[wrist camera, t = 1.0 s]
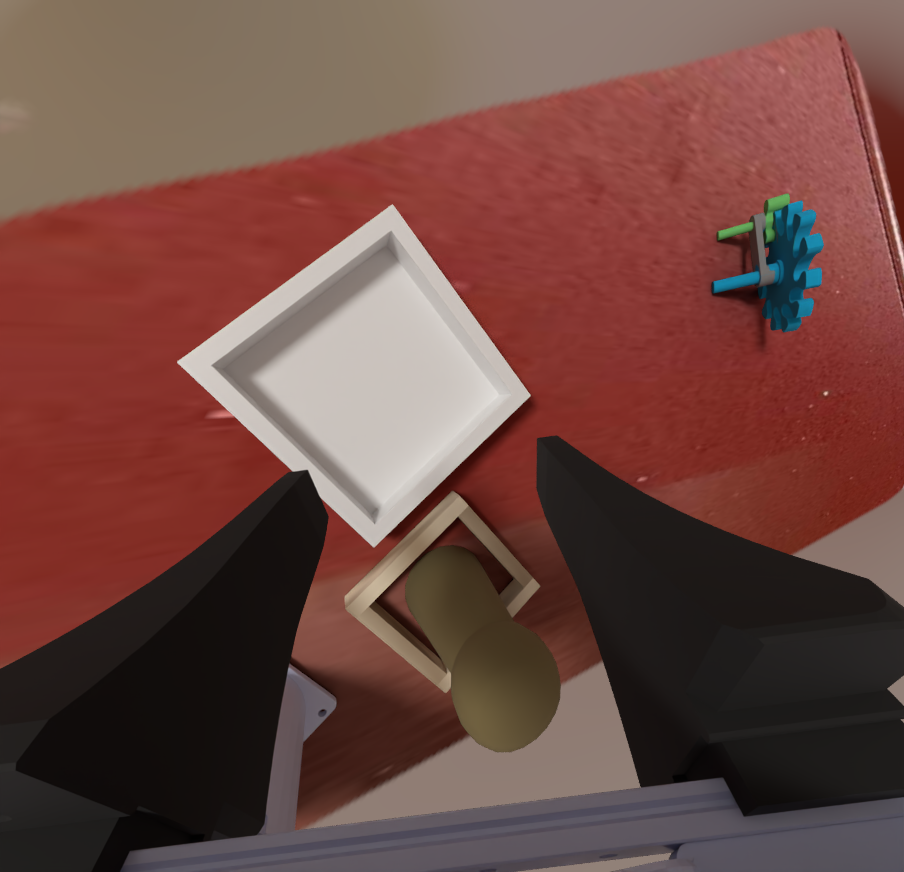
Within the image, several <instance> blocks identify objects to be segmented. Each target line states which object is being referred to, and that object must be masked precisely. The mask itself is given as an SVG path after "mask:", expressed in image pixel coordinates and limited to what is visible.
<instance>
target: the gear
mask: <svg viewBox="0 0 904 872" xmlns="http://www.w3.org/2000/svg"><path fill="white" fill-rule="evenodd" d="M789 201H790V196H789V194H784V195H781V196H778V197H775V198H771V199H768V200H766V201H765V203H764V213H765V214H764V213H760V214H757V215H753V216H751V218H750V220H749V223H746V224H742V225H739V226H735V227H732V228H728V229H725V230H721V231H718V232H717V240H722V239H725V238H729V237H732V236H736V235H739V234H743V233H747V232H749V239H750V248H751V257H752V266H753V272H752V273H747V274H743V275H739V276H735V277H730V278H726V279H722V280H718V281H713V282H712V293H718V292H722V291H727V290H731V289H736V288H740V287H745V286H749V285H754V284H755V286H756V287H758V295H759V298H760V299H763V298H766V301H765V304H764V307H763V309H762V315H763V317H764V318H765V319H770V318H771V324H770V327H771V330H779V329H782V331H783V332H788V331H794V330H797V329H798V328H799V327H800V325H801V317H805V316H810V315H811V312H812V309H813V305H814V301H813V299H812V298H807V299H804V298H803V290H804V289H809V288H814V287H818V286H820V285H821V280H822V271H821V268H815V269H811V270H808V268H809V265H810V263H811V261H812V259H813V257H814V256H815V255H816V254H817V253H819V252H821V250H822V248H823V246H824V244H823V240H822V237H821V234H820V233H818V234H814V235H810V231H811V229H812V226H813V224H814V222H815V219H816V212H815V211H813V210H807V211H803V212H802V209H803V202H802V201H798V202H795V203H791V204H789ZM781 209H782V210H781ZM774 211H775V212H774ZM773 212H774V213H773ZM809 235H810V236H809ZM767 247H769V255H768V257H765V248H767Z"/></svg>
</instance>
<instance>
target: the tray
mask: <svg viewBox="0 0 904 872" xmlns="http://www.w3.org/2000/svg"><path fill="white" fill-rule="evenodd" d="M177 363H178V364H179V365H180V366H181V367H183V368H184V369H185V370H186V371H187V372H188V373H189V374H190V375H191V376H192V377H193V378H194V379H195V380H196V381H197V382H198V383H200V384H201V385H202V386H203V387H204V388H205V389H206V390H207V391H208V392H209V393H210V394H211V395H212V396H213V397H214V398H215V399H217V400H218V401H219V402H220V403H221V404H222V405H223V406H224V407H225V408H226V409H227V410H228V411H229V412H230V413H231V414H232V415H234V416H235V417H236V418H237V419H238V420H239V421H240V422H241V423H242V424H243V425H244V426H245V427H246V428H247V429H248V430H249V431H250V432H252V433H253V434H254V435H255V436H256V437H257V438H258V439H259V440H260V441H261V442H262V443H263V444H264V445H265V446H266V447H267V448H269V449H270V450H271V451H272V452H273V453H274V454H275V455H276V456H277V457H278V458H279V459H280V460H281V461H282V462H283V463H284V464H286V465H287V466H288V467H289V468H290V469H291V470H292V471H293V472H294V471H301V470H308V471H309V473H310V476H311V478H312V480H313V482H314V485H315V487H316V489H317V491H318V494H319V496H320V497H321V498H322V499H323V500H324V501H325V502H326V503H327V504H328V505H329V506H330V507H331V508H332V509H333V510H334V511H335V512H337V513H338V514H339V515H340V516H341V517H342V518H343V519H344V520H345V521H346V522H347V523H348V524H349V525H350V526H351V527H352V528H353V529H355V530H356V531H357V532H358V533H359V534H360V535H361V536H362V537H363V538H364V539H365V540H366V541H367V542H368V543H369V544H370V545H372V546H373V547H375V546H376V545H377V544H378V543H379V542H380V541H381V540H382V539H383V538H384V537H385V536H386V535H387V534H388V533H389V532H391V531H392V530H393V529H394V528H395V527H396V526H397V525H398V524H399V523H400V522H401V521H402V520H403V519H404V518H405V517H406V516H407V515H408V514H409V513H410V512H411V511H412V510H413V509H414V508H415V507H416V506H417V505H418V504H419V503H420V502H421V501H423V500H424V499H425V498H426V497H427V496H428V495H429V494H430V493H431V492H432V491H433V490H434V489H435V488H436V487H437V486H438V485H439V484H440V483H441V482H442V481H443V480H444V479H445V478H446V477H447V476H448V475H449V474H450V473H451V472H452V471H454V470H455V469H456V468H457V467H458V466H459V465H460V464H461V463H462V462H463V461H464V460H465V459H466V458H467V457H468V456H469V455H470V454H471V453H472V452H473V451H474V450H475V449H476V448H477V447H478V446H479V445H480V444H481V443H482V442H483V441H484V440H486V439H487V438H488V437H489V436H490V435H491V434H492V433H493V432H494V431H495V430H496V429H497V428H498V427H499V426H500V425H501V424H502V423H503V422H504V421H505V420H506V419H507V418H508V417H509V416H510V415H511V414H512V413H513V412H514V411H515V410H517V409H518V408H519V407H520V406H521V405H522V404H523V403H524V402H525V401H526V400H527V399H528V398H529V397H530V396H531V395H530V394H529V392H528V391H527V390H526V388H525V387H524V386H523V384H522V383H521V381H520V380H519V379H518V377H517V376H516V374H515V373H514V372H513V370H512V369H511V368H510V366H509V365H508V363H507V362H506V361H505V359H504V358H503V356H502V355H501V354H500V352H499V351H498V350H497V348H496V347H495V345H494V344H493V343H492V341H491V340H490V338H489V337H488V336H487V334H486V333H485V332H484V330H483V329H482V327H481V326H480V325H479V323H478V322H477V320H476V319H475V318H474V316H473V315H472V314H471V312H470V311H469V309H468V308H467V307H466V305H465V304H464V302H463V301H462V300H461V298H460V297H459V296H458V294H457V293H456V291H455V290H454V289H453V287H452V286H451V284H450V283H449V282H448V280H447V279H446V278H445V276H444V275H443V273H442V272H441V271H440V269H439V268H438V266H437V265H436V264H435V262H434V261H433V260H432V258H431V257H430V255H429V254H428V253H427V251H426V250H425V248H424V247H423V246H422V244H421V243H420V242H419V240H418V239H417V237H416V236H415V235H414V233H413V232H412V230H411V229H410V228H409V226H408V225H407V224H406V222H405V221H404V219H403V218H402V217H401V215H400V214H399V213H398V211H397V210H396V208H395V207H394V206H393V204H392V205H391V206H390V207H388V208H387V209H386V210H384V211H383V212H381V213H380V214H379V215H377V216H376V217H375V218H373V219H372V220H371V221H369V222H368V223H366V224H365V225H364V226H362V227H361V228H360V229H358V230H357V231H356V232H354V233H353V234H351V235H350V236H349V237H347V238H346V239H345V240H343V241H342V242H340V243H339V244H338V245H336V246H335V247H334V248H332V249H331V250H330V251H328V252H327V253H325V254H324V255H323V256H321V257H320V258H319V259H317V260H316V261H315V262H313V263H312V264H310V265H309V266H308V267H306V268H305V269H304V270H302V271H301V272H299V273H298V274H297V275H295V276H294V277H293V278H291V279H290V280H289V281H287V282H286V283H284V284H283V285H282V286H280V287H279V288H278V289H276V290H275V291H274V292H272V293H271V294H269V295H268V296H267V297H265V298H264V299H263V300H261V301H260V302H258V303H257V304H256V305H254V306H253V307H252V308H250V309H249V310H248V311H246V312H245V313H243V314H242V315H241V316H239V317H238V318H237V319H235V320H234V321H232V322H231V323H230V324H228V325H227V326H226V327H224V328H223V329H222V330H220V331H219V332H217V333H216V334H215V335H213V336H212V337H211V338H209V339H208V340H207V341H205V342H204V343H202V344H201V345H200V346H198V347H197V348H196V349H194V350H193V351H191V352H190V353H189V354H187V355H186V356H185V357H183V358H182V359H181V360H179V361H178V362H177Z"/></svg>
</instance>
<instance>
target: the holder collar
mask: <svg viewBox="0 0 904 872" xmlns="http://www.w3.org/2000/svg"><path fill="white" fill-rule="evenodd" d="M457 517H458V518H459V519H460V520H461V521H462V522H463V523H464V524H465V525H466V527H467V528H468V529H469V530H470V531H471V532H472V533H473V534H474V535H475V536H476V537H477V539H478V540H479V541H480V542H481V543H482V544H483V545H484V546H485V547H486V548H487V549H488V551H489V552H490V553H491V554H492V555H493V556H494V557H495V558H496V559H497V560H498V561H499V562H500V564H501V565H502V566H503V567H504V568H505V569H506V570H507V571H508V572H509V573H510V574H511V576H512V577H513V578H514V579H513V580H512V581H511V582H510V584H509V585H508V586H507V587H506V588H505V589H504V590H503V591H502V592H501V593H500V595H499V596H500V598H501V600H502V601H503V603H504V605H505V607H506V608H507V610H508V612H509V613H510V615H511V617H512V618H513V617H514V615H515V614H516V613H517V612H518V611H519V610H520V609H521V608H522V606H523V605H524V604H525V603H526V602H527V601H528V600H529V599H530V597H531V596H532V595H533V594H534V593H535V592H536V591H537V589H538V588H539V587H540V585H539V584H538V583H537V582H536V581H535V579H534V578H533V577H532V576H531V575H530V574H529V573H528V572H527V571H526V569H525V568H524V567H523V566H522V565H521V564H520V563H519V562H518V560H517V559H516V558H515V557H514V556H513V555H512V554H511V553H510V552H509V550H508V549H507V548H506V547H505V546H504V545H503V544H502V543H501V541H500V540H499V539H498V538H497V537H496V536H495V535H494V534H493V532H492V531H491V530H490V529H489V528H488V527H487V526H486V525H485V524H484V522H483V521H482V520H481V519H480V518H479V517H478V516H477V515H476V513H475V512H474V511H473V510H472V509H471V508H470V507H469V506H468V505H467V503H466V502H465V501H464V500H463V499H462V498H461V497H460V496H459V495H458V494H457V493H455V492H454V491H451V492H450V493H449V494H448V495H447V496H446V497H445V498H444V499H443V500H442V501H441V502H440V503H439V504H438V505H437V506H436V507H435V508H434V509H433V510H432V511H431V512H430V513H429V514H428V515H427V516H426V517H425V518H424V519H423V520H422V521H421V522H420V523H419V524H418V525H417V526H416V527H415V528H414V529H413V530H412V531H411V532H410V533H409V534H408V535H407V536H406V537H405V538H404V539H403V540H402V541H401V542H400V543H399V544H398V545H397V546H396V547H394V548H393V549H392V550H391V551H390V552H389V553H388V554H387V555H386V556H385V557H384V558H383V559H382V560H381V561H380V562H379V563H378V564H377V565H376V566H375V567H374V568H373V569H372V570H371V571H370V572H369V573H368V574H367V575H366V576H365V577H364V578H363V579H362V580H361V581H360V582H359V583H358V584H357V585H356V586H355V587H354V588H353V589H352V590H351V591H350V592H349V593H348V594H347V595H346V596H345V609H346V610H347V611H348V612H349V613H350V614H352V615H353V616H354V617H355V618H356V619H358V620H359V621H360V622H361V623H362V624H364V625H365V626H366V627H367V628H368V629H369V630H371V631H372V632H373V633H374V634H375V635H377V636H378V637H379V638H380V639H381V640H383V641H384V642H385V643H386V644H387V645H389V646H390V647H391V648H392V649H393V650H395V651H396V652H397V653H398V654H399V655H400V656H402V657H403V658H404V659H405V660H406V661H408V662H409V663H410V664H411V665H412V666H414V667H415V668H416V669H417V670H418V671H420V672H421V673H422V674H423V675H424V676H425V677H427V678H428V679H429V680H430V681H431V682H433V683H434V684H435V685H436V686H437V687H439V688H440V689H441V690H442V691H443V692H445V693H446V692H447V691H448V690H449V689H450V688H451V673H450V671H449V670H448V668H447V667H446V665H445V664H444V662H443V661H442V659H440V658H439V657H438V656H436V655H435V654H434V653H433V652H432V651H431V650H430V649H428V648H427V647H426V646H425V645H424V644H423V643H422V642H420V641H419V640H418V639H417V638H416V637H415V636H414V635H412V634H411V633H410V632H409V631H408V630H407V629H406V628H405V627H403V626H402V625H401V624H400V623H399V622H398V621H397V620H395V619H394V618H393V617H392V616H391V615H390V614H389V613H387V612H386V611H385V610H384V609H383V608H382V607H381V606H379V605H378V604H377V603H376V602H375V599H376V598H377V597H378V596H379V595H380V594H381V593H382V592H383V591H384V590H385V589H386V588H387V587H388V586H389V585H390V584H391V583H392V582H393V581H394V580H395V579H396V578H397V577H398V576H399V575H400V574H401V573H402V572H403V571H404V570H405V569H406V568H407V567H408V566H409V565H410V564H411V563H412V562H413V561H414V560H415V559H416V558H417V557H418V556H419V555H420V554H421V553H422V552H423V551H424V550H425V549H426V548H427V547H428V546H429V545H430V544H431V543H432V542H433V541H434V540H435V539H436V538H437V537H438V536H439V535H440V534H441V533H442V532H443V531H444V530H445V529H446V528H447V527H448V526H449V525H450V524H451V523H452V522H453V521H454V520H455V519H456V518H457Z"/></svg>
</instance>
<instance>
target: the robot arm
mask: <svg viewBox="0 0 904 872" xmlns="http://www.w3.org/2000/svg"><path fill="white" fill-rule="evenodd" d="M536 488H537V492H538V495H539V498H540V502H541V505H542V508H543V511H544V514H545V517H546V519H547V521H548V524H549V526H550V528H551V530H552V532H553V535H554V537H555V539H556V541H557V543H558V546H559V548H560V550H561V552H562V554H563V556H564V558H565V561H566V563H567V565H568V567H569V569H570V571H571V574H572V576H573V578H574V580H575V583H576V585H577V587H578V590H579V592H580V595H581V598H582V601H583V603H584V606H585V609H586V612H587V615H588V618H589V621H590V623H591V626H592V629H593V632H594V635H595V638H596V641H597V644H598V647H599V650H600V653H601V656H602V659H603V662H604V666H605V669H606V672H607V675H608V678H609V682H610V685H611V687H612V691H613V694H614V698H615V701H616V704H617V707H618V710H619V714H620V717H621V720H622V724H623V727H624V731H625V734H626V738H627V741H628V744H629V748H630V751H631V754H632V758H633V762H634V765H635V769H636V772H637V776H638V779H639V783H640V786H641V788H634V789H626V790H619V791H610V792H602V793H594V794H586V795H578V796H570V797H562V798H554V799H545V800H537V801H530V802H521V803H513V804H505V805H497V806H489V807H481V808H473V809H465V810H457V811H449V812H440V813H432V814H425V815H417V816H408V817H400V818H392V819H385V820H376V821H368V822H360V823H353V824H344V825H336V826H328V827H320V828H311V829H303V830H295V822H296V811H297V801H298V790H299V780H300V769H301V759H302V748H303V742H304V741H305V740H306V739H307V738H308V737H309V736H310V735H311V734H312V733H313V732H314V731H315V729H316V728H317V727H318V726H319V725H320V724H321V723H322V722H323V721H324V720H325V719H326V718H327V717H328V716H329V715H330V714H331V713H332V712H333V710H334V709H335V708H336V705H337V704H336V698H335V696H333V695H332V694H331V693H329V692H328V691H327V690H325V689H324V688H322V687H321V686H320V685H318V684H317V683H316V682H314V681H313V680H311V679H310V678H309V677H307V676H306V675H305V674H303V673H302V672H300V671H299V670H298V669H296V668H295V667H294V666H292V665H291V664H290V659H291V654H292V650H293V645H294V641H295V636H296V632H297V628H298V625H299V621H300V618H301V614H302V611H303V608H304V605H305V602H306V599H307V596H308V593H309V590H310V587H311V584H312V581H313V578H314V575H315V572H316V568H317V565H318V562H319V559H320V556H321V553H322V549H323V546H324V541H325V536H326V530H327V524H328V517H329V516H328V514H327V512H326V510H325V507H324V505H323V503H322V500H321V498H320V496H319V494H318V491H317V489H316V487H315V485H314V482H313V480H312V478H311V476H310V473H309V471H308V470H301V471H294V472H288V473H287V474H286V475H284V476H283V477H282V478H280V479H279V480H278V481H277V482H276V483H274V484H273V485H272V486H271V487H270V488H269V489H267V490H266V491H265V492H264V493H263V494H262V495H261V496H259V497H258V498H257V499H256V500H255V501H254V502H252V503H251V504H250V505H249V506H248V507H247V508H246V509H244V510H243V511H242V512H241V513H240V514H239V515H237V516H236V517H235V518H234V519H233V520H232V521H230V522H229V523H228V524H227V525H225V526H224V527H223V528H222V529H221V530H219V531H218V532H217V533H216V534H214V535H213V536H212V537H211V538H209V539H208V540H207V541H206V542H205V543H203V544H202V545H201V546H200V547H198V548H197V549H196V550H194V551H193V552H192V553H190V554H189V555H188V556H186V557H185V558H184V559H182V560H181V561H180V562H178V563H177V564H175V565H174V566H172V567H171V568H170V569H168V570H167V571H165V572H164V573H162V574H161V575H160V576H158V577H157V578H155V579H154V580H152V581H151V582H149V583H148V584H146V585H145V586H143V587H141V588H140V589H138V590H137V591H135V592H134V593H132V594H130V595H129V596H127V597H126V598H124V599H123V600H121V601H119V602H118V603H116V604H115V605H113V606H112V607H110V608H108V609H107V610H105V611H104V612H102V613H100V614H99V615H97V616H95V617H94V618H92V619H90V620H88V621H87V622H85V623H83V624H82V625H80V626H78V627H76V628H75V629H73V630H71V631H70V632H68V633H66V634H64V635H62V636H61V637H59V638H57V639H55V640H53V641H52V642H50V643H48V644H46V645H44V646H43V647H41V648H39V649H37V650H35V651H33V652H32V653H30V654H28V655H26V656H24V657H22V658H20V659H18V660H17V661H15V662H13V663H11V664H9V665H7V666H5V667H3V668H1V669H0V872H516V871H524V870H533V869H540V868H549V867H557V866H566V865H574V864H582V863H590V862H599V861H607V860H615V859H623V858H631V857H639V856H648V855H656V854H664V853H671V855H670V857H669V860H664V861H659V862H653V863H648V864H644V865H639V866H635V867H630V868H626V869H622V870H617V871H612V872H904V723H903V722H902V721H901V720H900V719H904V706H903V705H902V704H901V703H900V702H899V701H898V699H896V697H895V696H894V695H893V694H892V693H891V692H890V691H889V690H888V689H887V688H888V687H890V686H891V685H892V684H893V683H895V682H896V681H897V680H898V679H900V678H901V677H902V676H903V675H904V607H903V606H902V605H900V604H899V603H898V602H897V601H895V600H894V599H893V598H891V597H890V596H889V595H888V594H887V593H885V592H884V591H883V590H882V589H880V588H879V587H878V586H877V585H876V584H874V583H873V582H872V581H870V580H869V579H867V578H864V577H860V576H857V575H854V574H851V573H847V572H844V571H841V570H838V569H834V568H831V567H828V566H825V565H821V564H818V563H815V562H811V561H808V560H805V559H801V558H798V557H795V556H792V555H789V554H786V553H783V552H780V551H778V550H775V549H772V548H769V547H766V546H764V545H761V544H758V543H755V542H752V541H750V540H747V539H744V538H742V537H739V536H737V535H734V534H731V533H729V532H726V531H724V530H721V529H719V528H717V527H714V526H712V525H710V524H707V523H705V522H703V521H700V520H698V519H696V518H693V517H691V516H689V515H687V514H685V513H682V512H680V511H678V510H676V509H674V508H672V507H670V506H668V505H666V504H664V503H662V502H660V501H658V500H656V499H654V498H652V497H650V496H649V495H647V494H645V493H643V492H641V491H640V490H638V489H636V488H634V487H633V486H631V485H629V484H628V483H626V482H624V481H623V480H621V479H619V478H618V477H616V476H615V475H613V474H612V473H610V472H608V471H607V470H605V469H604V468H602V467H601V466H599V465H598V464H596V463H595V462H593V461H592V460H591V459H589V458H588V457H586V456H585V455H584V454H582V453H581V452H579V451H578V450H577V449H575V448H574V447H572V446H571V445H570V444H568V443H567V442H566V441H564V440H563V439H561V438H560V437H558V436H557V435H556V436H549V437H542V438H537V487H536ZM322 709H325V711H323V712H320V710H322Z"/></svg>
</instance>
